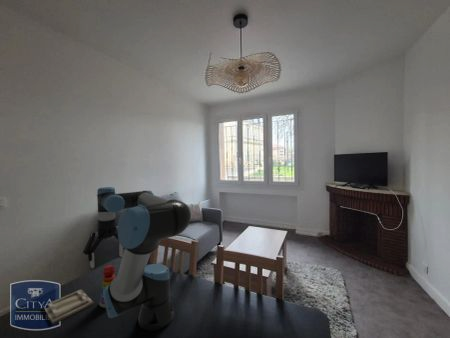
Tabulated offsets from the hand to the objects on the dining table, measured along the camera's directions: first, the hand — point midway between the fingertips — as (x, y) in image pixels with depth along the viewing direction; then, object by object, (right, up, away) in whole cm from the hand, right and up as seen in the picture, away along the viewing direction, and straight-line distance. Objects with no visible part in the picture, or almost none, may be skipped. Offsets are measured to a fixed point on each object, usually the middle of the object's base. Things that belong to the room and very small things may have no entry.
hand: (107, 261), depth 102 cm
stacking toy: (0, -21, +1) cm, 21 cm away
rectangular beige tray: (-18, -21, -2) cm, 28 cm away
